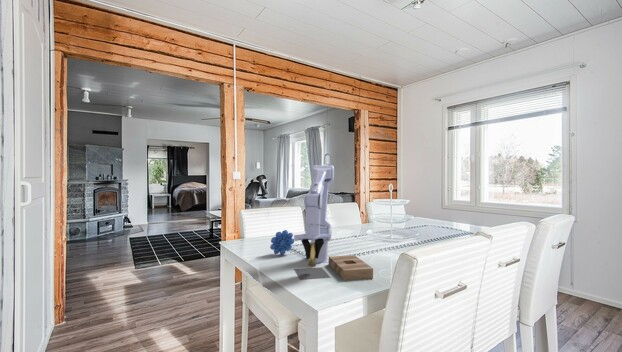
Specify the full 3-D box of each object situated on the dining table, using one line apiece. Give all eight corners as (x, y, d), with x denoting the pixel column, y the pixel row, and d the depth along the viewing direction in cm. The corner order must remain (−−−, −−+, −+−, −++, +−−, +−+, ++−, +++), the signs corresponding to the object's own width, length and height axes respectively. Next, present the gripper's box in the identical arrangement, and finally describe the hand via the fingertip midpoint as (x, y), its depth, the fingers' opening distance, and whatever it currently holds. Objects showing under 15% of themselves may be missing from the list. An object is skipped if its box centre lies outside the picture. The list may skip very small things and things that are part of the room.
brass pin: (307, 264, 115) (307, 242, 115) (314, 264, 116) (315, 241, 116) (309, 267, 112) (309, 244, 112) (316, 266, 113) (317, 243, 113)
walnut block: (328, 265, 125) (328, 256, 125) (354, 264, 128) (354, 255, 128) (343, 281, 108) (343, 270, 108) (372, 278, 111) (373, 268, 111)
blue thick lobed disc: (293, 251, 145) (293, 228, 145) (294, 255, 139) (295, 230, 139) (269, 252, 143) (270, 228, 143) (270, 256, 137) (270, 231, 137)
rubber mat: (293, 270, 118) (293, 269, 118) (321, 268, 121) (321, 267, 121) (300, 281, 106) (300, 279, 106) (330, 278, 110) (330, 277, 110)
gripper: (296, 226, 108) (296, 262, 108) (333, 225, 112) (332, 260, 112) (293, 222, 115) (292, 256, 115) (327, 222, 118) (327, 254, 119)
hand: (312, 258), depth 114 cm, fingers closed on brass pin, 3 cm apart
